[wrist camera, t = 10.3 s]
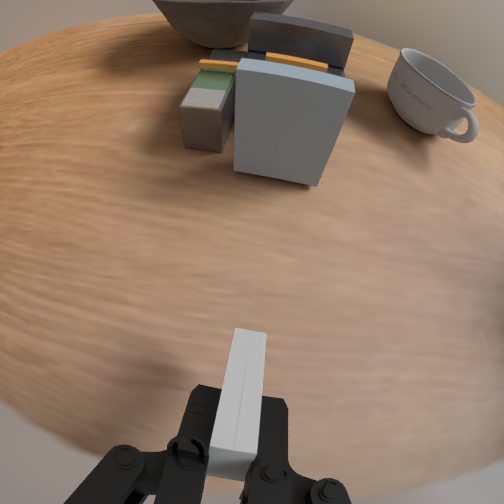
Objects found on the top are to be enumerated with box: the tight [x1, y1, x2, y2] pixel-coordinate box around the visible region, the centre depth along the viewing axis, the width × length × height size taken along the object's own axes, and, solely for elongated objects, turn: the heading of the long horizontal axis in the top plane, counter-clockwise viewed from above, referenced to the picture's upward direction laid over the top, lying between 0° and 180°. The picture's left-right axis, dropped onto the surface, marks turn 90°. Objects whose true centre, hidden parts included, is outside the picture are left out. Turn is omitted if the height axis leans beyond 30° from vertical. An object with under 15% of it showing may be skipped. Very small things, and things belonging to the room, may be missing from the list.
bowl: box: [153, 0, 294, 49], centre depth 29 cm, size 19×19×10 cm
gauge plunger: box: [234, 58, 355, 187], centre depth 20 cm, size 7×8×10 cm
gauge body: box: [178, 12, 354, 153], centre depth 23 cm, size 14×13×9 cm
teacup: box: [387, 48, 479, 143], centre depth 26 cm, size 14×11×8 cm
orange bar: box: [199, 52, 328, 73], centre depth 21 cm, size 11×1×2 cm, turn 80°
